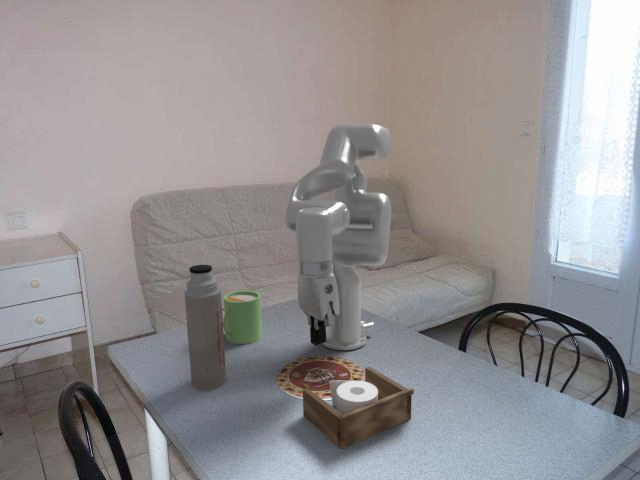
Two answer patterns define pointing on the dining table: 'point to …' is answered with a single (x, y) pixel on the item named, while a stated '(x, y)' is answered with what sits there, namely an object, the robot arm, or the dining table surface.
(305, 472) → the dining table surface
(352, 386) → the toilet paper
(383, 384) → the open wooden box
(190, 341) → the thermos bottle
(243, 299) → the mug
